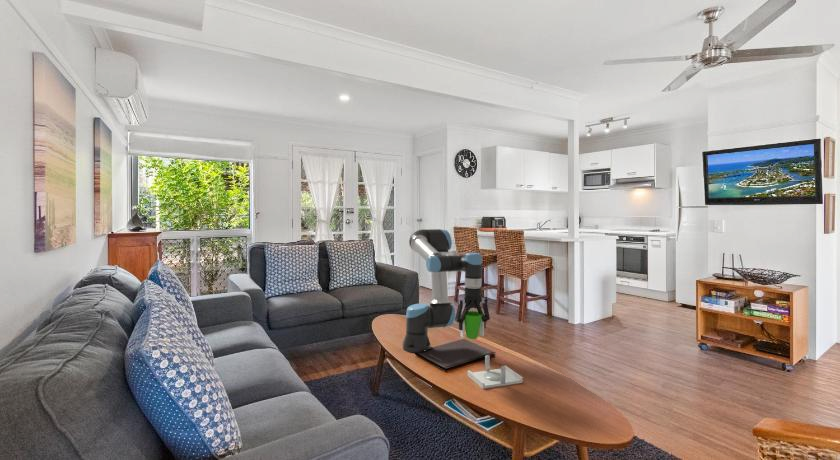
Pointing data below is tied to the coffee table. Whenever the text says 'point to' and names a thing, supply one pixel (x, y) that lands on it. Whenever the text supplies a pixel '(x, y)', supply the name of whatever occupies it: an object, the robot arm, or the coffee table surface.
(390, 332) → the coffee table surface
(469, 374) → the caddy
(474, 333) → the cup
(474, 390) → the coffee table surface
